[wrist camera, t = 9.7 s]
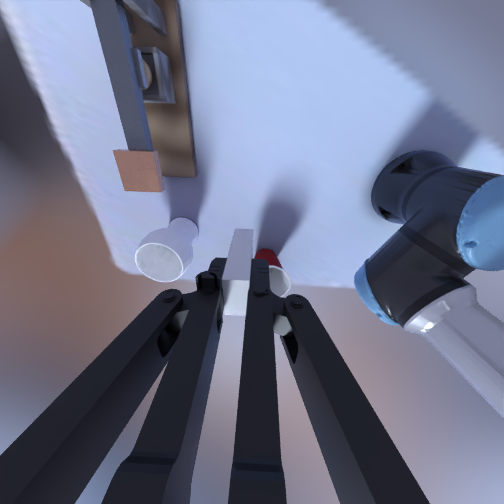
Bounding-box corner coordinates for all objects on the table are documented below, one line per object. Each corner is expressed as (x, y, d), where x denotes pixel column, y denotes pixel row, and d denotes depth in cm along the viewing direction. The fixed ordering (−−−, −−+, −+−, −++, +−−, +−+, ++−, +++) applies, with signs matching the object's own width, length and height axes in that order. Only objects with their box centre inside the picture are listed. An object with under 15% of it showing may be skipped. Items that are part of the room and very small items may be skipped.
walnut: (153, 59, 31) (140, 50, 28) (159, 92, 33) (147, 88, 30) (128, 58, 31) (111, 49, 28) (135, 91, 33) (120, 87, 30)
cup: (202, 212, 50) (181, 241, 37) (205, 249, 56) (189, 285, 43) (159, 210, 50) (124, 238, 37) (167, 247, 56) (139, 283, 43)
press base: (116, 1, 32) (20, -83, 19) (178, 3, 32) (122, -82, 19) (152, 174, 46) (110, 191, 33) (196, 175, 46) (171, 193, 33)
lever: (90, -6, 25) (58, -30, 21) (137, -5, 25) (114, -29, 21) (139, 184, 37) (124, 190, 33) (171, 185, 37) (160, 192, 33)
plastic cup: (279, 276, 59) (283, 307, 49) (243, 268, 58) (239, 298, 48) (291, 245, 54) (298, 272, 44) (252, 236, 53) (249, 261, 43)
